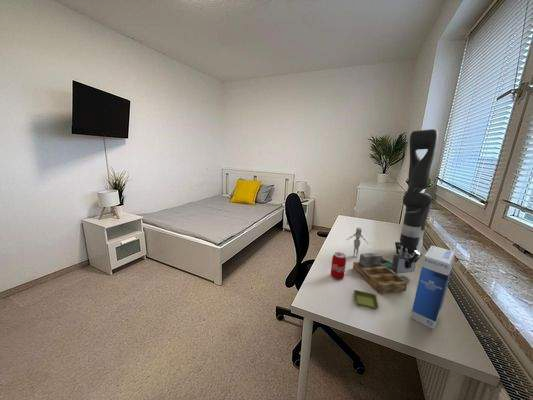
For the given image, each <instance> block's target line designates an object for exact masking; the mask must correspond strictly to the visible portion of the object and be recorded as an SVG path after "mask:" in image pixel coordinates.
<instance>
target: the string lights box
mask: <svg viewBox="0 0 533 400" xmlns="http://www.w3.org/2000/svg"><path fill="white" fill-rule="evenodd" d="M455 255H456V251H454V250H450V249H446V248H443V247H439V246H435V245H431V246H430V247H429V248H428V250H426V252H425V254H423V261H422V265H421V270H420V273H419V278H418V282H417V286H416V292H415V297H414V300H413V305H412V309H411V313H410V319H412V320H414V321H415V322H418V323H419V324H421V325H423V326H426V327H428V328H430V329H432V330H435V327H436V325H437V322H438V320H439V318H440V315H441V312H442V310H443V309H442V308H443V304H444V301H445V297H446V292H447V289H448V284H449V280H450V276H451V274H452V273H451V272H452V268H453V264H454V261H455V260H454V259H455Z"/></svg>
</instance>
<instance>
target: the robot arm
mask: <svg viewBox="0 0 533 400" xmlns="http://www.w3.org/2000/svg"><path fill="white" fill-rule="evenodd" d="M438 141H439V131H438V130H437V129H434V128H432V129H430V128H429V129H420V130H413V131H412V132H411V133H410V136H409V165H408V176H407V177H408V178H407V180H408V181H407V182H408V183H407V185H408V187H407V190H406V192H405V194H404V196H403V199H402V204H403V205H404V206H405V214H404V217H403V218H404V219H403V223H402V227H401V229H400V230H401V231H400V237H399V241H395V242H394V245H395V246H394V247H395V252H396V254H397V255H406V257H407V262H406V267H405V268H406V269H409V268H411V265H412V263H415V262H416V263H417V262H418V260H420V258H421V257H422V256H423V254H422V249H423V245H424V244H423V243H424V241H423V236H424V233H425V228H426V223H427V220H428V216H429V212H430V208H431V207H430V206H431V204H432V202H433V200H432V199H433V198H432V196H431V195H430V194H429V193H427V192H422V191H423V190H425V189H427V188H429V184H430V174H431V173H430V172H431V169H432V165H433V162H434V157H435V155H436V149H437V146H438ZM418 150H419V151H420V150H426V153H425V154H424V156H423V157H422V158H421V156H420V155H419V151H418Z"/></svg>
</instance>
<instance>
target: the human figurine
mask: <svg viewBox="0 0 533 400" xmlns="http://www.w3.org/2000/svg"><path fill="white" fill-rule="evenodd" d="M362 230H363V229H362V228H361V227H356V231H355V233H354V234H353V235H352V236H350V237H349V238H347V239H346V241H348V240H350V239H352V238H354V237H355V239H354V240H353V247H354V248H353V256H352V257H353V259H358V255H359V248H360V245H361V240H360V239H361V238H362V239H363V241H365V242H366V244H369V242H368V241H367V240H366V238H364V237H363V234H362ZM355 254H356V255H355Z"/></svg>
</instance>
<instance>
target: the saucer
mask: <svg viewBox="0 0 533 400" xmlns="http://www.w3.org/2000/svg"><path fill="white" fill-rule="evenodd" d="M353 293H354V294H353V295H354V296H353V297H354V303H355V305H356V306H360V307H364V308H367V309H371V310H377V309H379V308H380V307H379V303H378V299H377V295H376V294H375V293H372V292H366V291H361V290H358V289H354V290H353Z"/></svg>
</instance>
